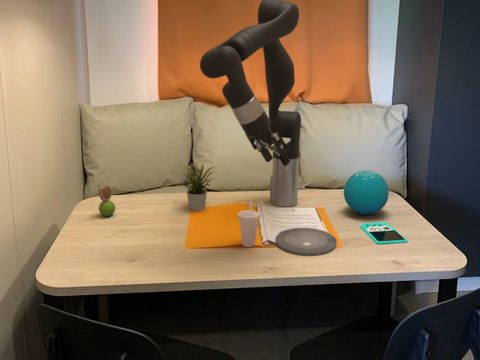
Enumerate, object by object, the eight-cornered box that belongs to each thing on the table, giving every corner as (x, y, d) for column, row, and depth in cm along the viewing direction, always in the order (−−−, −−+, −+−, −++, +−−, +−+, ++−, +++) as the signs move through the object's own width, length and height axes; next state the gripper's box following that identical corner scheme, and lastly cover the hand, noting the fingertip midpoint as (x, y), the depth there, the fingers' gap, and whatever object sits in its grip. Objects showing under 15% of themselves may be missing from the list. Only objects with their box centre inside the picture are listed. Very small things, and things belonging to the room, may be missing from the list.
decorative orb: (349, 203, 200) (351, 163, 195) (391, 209, 194) (394, 168, 189) (337, 216, 187) (339, 174, 183) (381, 224, 181) (385, 180, 176)
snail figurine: (94, 218, 185) (91, 184, 181) (105, 212, 191) (103, 178, 187) (107, 220, 183) (105, 185, 179) (119, 214, 189) (116, 180, 185)
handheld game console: (386, 225, 182) (387, 221, 181) (409, 244, 167) (409, 240, 166) (357, 226, 180) (358, 222, 180) (377, 246, 165) (377, 242, 165)
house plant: (228, 206, 196) (228, 162, 191) (205, 218, 185) (205, 171, 180) (196, 199, 203) (195, 156, 199) (172, 210, 192) (171, 165, 187)
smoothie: (257, 249, 161) (257, 204, 157) (235, 247, 162) (235, 202, 158) (261, 241, 167) (261, 197, 163) (240, 239, 168) (240, 195, 164)
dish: (263, 241, 167) (263, 237, 167) (305, 226, 178) (305, 223, 178) (306, 261, 154) (306, 257, 153) (348, 244, 165) (349, 240, 164)
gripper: (275, 107, 143) (303, 156, 150) (246, 105, 155) (273, 151, 162) (255, 125, 141) (284, 174, 148) (227, 121, 153) (255, 167, 160)
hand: (278, 162), depth 155 cm, fingers open, 8 cm apart
